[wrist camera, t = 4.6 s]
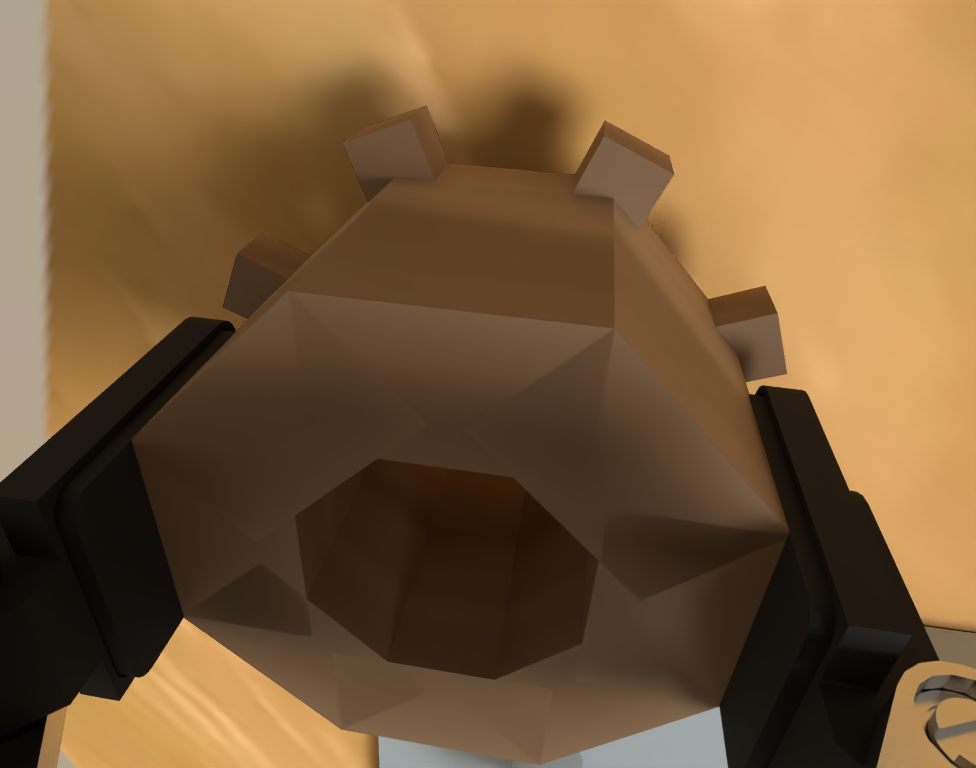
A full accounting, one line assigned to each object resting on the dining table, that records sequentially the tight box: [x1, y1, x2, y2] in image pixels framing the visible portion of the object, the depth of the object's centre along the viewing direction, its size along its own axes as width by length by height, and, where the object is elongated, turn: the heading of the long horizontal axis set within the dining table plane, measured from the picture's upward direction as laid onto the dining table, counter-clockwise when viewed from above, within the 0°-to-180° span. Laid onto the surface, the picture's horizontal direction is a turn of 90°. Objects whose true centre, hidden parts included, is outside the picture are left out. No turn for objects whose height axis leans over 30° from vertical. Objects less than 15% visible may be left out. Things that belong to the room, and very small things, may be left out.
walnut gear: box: [131, 105, 789, 765], centre depth 10 cm, size 8×8×4 cm
